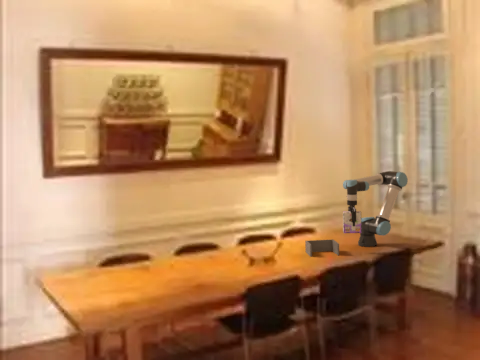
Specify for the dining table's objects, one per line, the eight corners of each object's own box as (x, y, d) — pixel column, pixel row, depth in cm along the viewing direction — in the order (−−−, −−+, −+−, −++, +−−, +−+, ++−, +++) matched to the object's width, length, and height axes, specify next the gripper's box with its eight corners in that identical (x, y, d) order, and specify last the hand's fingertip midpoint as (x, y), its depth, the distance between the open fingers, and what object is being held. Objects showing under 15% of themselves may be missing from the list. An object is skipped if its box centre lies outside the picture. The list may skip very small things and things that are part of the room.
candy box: (360, 231, 477) (360, 210, 475) (361, 233, 471) (361, 212, 470) (342, 232, 478) (342, 211, 477) (343, 233, 473) (343, 212, 471)
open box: (333, 250, 485) (333, 239, 484) (339, 255, 468) (339, 243, 467) (305, 251, 483) (305, 240, 482) (310, 256, 466) (310, 245, 465)
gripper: (343, 198, 481) (344, 227, 484) (350, 201, 462) (351, 232, 465) (353, 198, 482) (353, 227, 484) (360, 201, 463) (360, 231, 465)
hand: (352, 229), depth 474 cm, fingers closed on candy box, 6 cm apart
